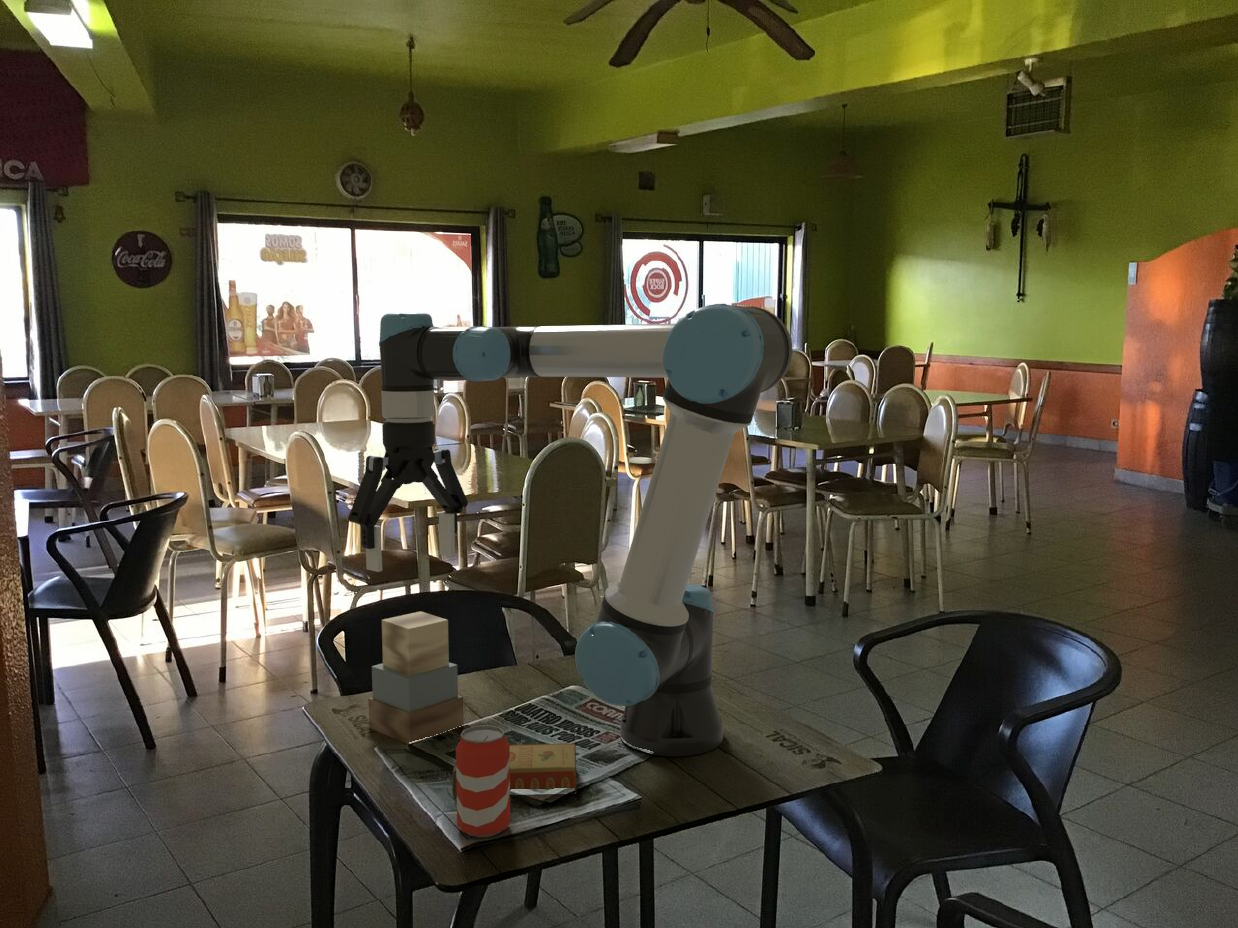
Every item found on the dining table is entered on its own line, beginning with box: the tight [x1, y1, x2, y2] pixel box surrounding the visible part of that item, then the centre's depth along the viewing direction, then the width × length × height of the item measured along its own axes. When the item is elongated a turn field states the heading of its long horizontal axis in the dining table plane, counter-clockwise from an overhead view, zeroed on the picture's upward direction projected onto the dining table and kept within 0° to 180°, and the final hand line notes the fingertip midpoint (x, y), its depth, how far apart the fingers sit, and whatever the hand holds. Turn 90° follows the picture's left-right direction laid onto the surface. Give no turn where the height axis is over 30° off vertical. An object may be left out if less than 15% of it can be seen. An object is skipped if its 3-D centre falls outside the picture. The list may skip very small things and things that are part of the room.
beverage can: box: [455, 724, 511, 839], centre depth 131 cm, size 6×6×12 cm
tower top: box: [371, 661, 459, 713], centre depth 164 cm, size 9×9×5 cm
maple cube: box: [381, 611, 450, 676], centre depth 163 cm, size 7×7×7 cm
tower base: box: [368, 694, 465, 745], centre depth 165 cm, size 10×10×5 cm
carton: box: [451, 743, 577, 797], centre depth 145 cm, size 8×16×4 cm, turn 93°
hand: (412, 562), depth 162 cm, fingers open, 13 cm apart
